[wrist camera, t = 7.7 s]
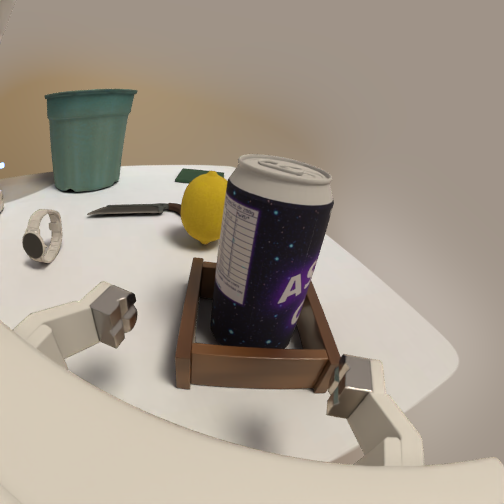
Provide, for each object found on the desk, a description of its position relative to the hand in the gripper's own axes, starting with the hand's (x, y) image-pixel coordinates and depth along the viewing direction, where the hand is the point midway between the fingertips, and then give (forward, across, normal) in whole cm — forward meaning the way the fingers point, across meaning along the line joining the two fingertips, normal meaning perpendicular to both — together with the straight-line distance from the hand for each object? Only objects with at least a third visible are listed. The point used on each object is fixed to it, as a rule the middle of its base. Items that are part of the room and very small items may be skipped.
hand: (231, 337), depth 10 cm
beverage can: (+7, 0, +7) cm, 10 cm away
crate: (+7, 0, +7) cm, 10 cm away
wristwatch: (+8, +20, +7) cm, 23 cm away
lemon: (+19, +8, +7) cm, 21 cm away
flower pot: (+29, +35, +7) cm, 46 cm away
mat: (+43, +18, +7) cm, 47 cm away
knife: (+22, +18, +7) cm, 29 cm away
